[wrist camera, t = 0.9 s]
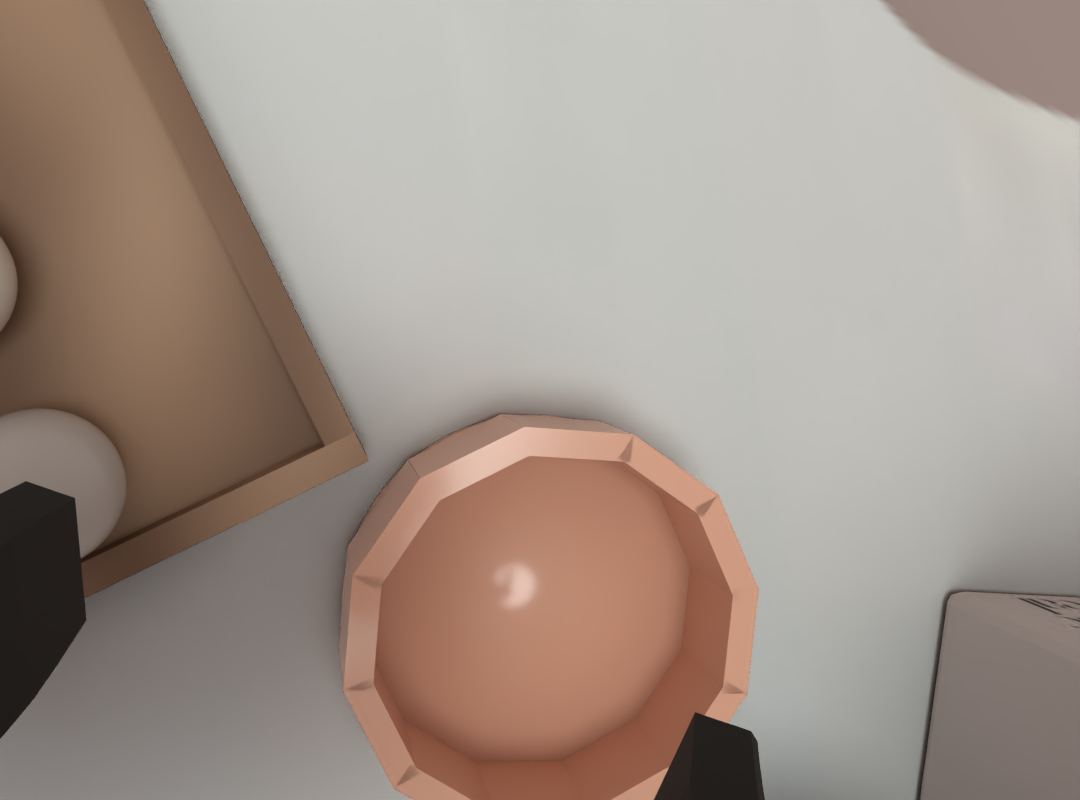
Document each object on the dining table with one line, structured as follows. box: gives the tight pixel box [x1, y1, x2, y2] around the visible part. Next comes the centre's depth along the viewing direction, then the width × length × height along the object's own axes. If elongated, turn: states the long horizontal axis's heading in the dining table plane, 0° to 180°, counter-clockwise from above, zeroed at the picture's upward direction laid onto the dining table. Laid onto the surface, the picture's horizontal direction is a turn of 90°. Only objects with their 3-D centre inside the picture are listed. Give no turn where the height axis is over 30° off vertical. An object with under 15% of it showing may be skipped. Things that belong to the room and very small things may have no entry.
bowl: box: [339, 414, 758, 800], centre depth 23 cm, size 9×9×3 cm
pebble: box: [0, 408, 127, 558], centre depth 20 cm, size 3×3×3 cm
